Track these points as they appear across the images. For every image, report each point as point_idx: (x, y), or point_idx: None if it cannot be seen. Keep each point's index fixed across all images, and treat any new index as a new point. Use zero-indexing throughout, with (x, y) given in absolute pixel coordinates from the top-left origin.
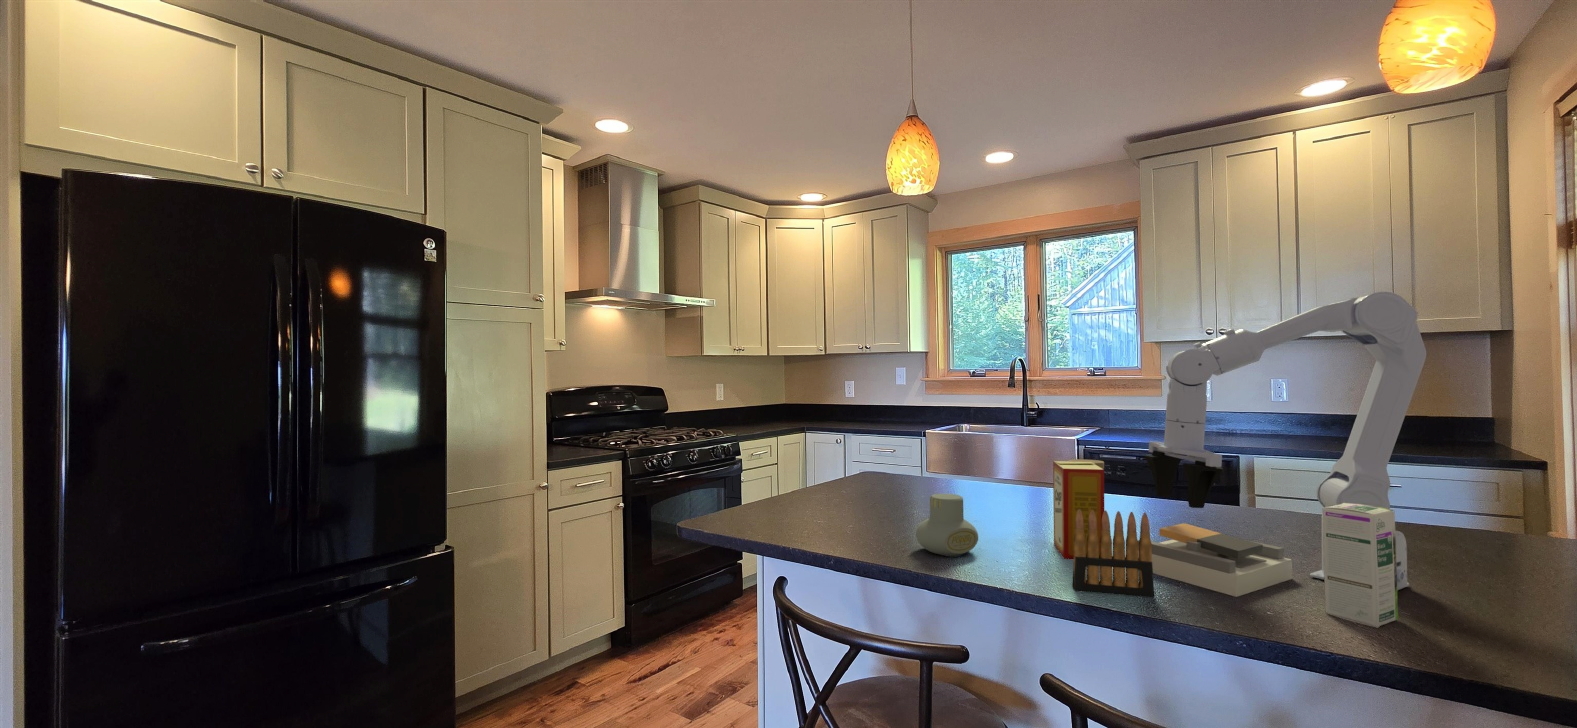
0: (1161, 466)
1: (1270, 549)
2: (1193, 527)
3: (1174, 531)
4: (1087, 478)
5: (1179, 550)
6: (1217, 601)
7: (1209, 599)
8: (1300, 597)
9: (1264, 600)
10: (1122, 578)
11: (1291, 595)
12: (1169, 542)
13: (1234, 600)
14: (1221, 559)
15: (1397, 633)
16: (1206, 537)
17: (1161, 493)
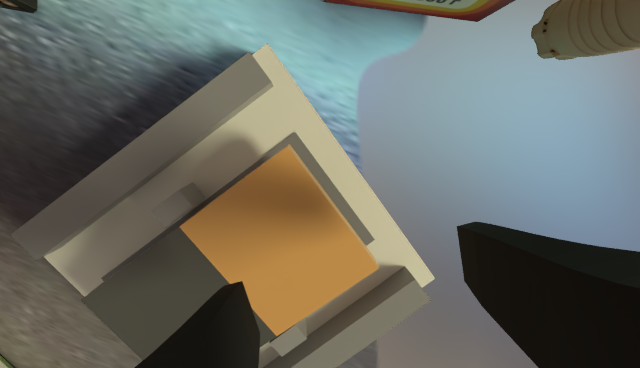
0: (636, 354)
1: None
2: (328, 277)
3: (255, 185)
4: None
5: (133, 143)
6: (12, 157)
7: (23, 144)
8: (95, 345)
9: (51, 264)
10: None
11: (105, 335)
12: (361, 200)
13: (32, 199)
14: (44, 227)
15: None
16: (210, 267)
17: (467, 242)
